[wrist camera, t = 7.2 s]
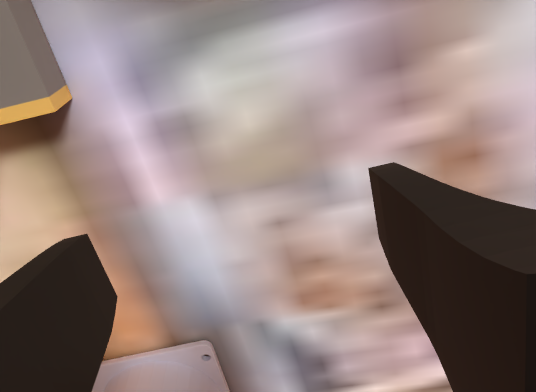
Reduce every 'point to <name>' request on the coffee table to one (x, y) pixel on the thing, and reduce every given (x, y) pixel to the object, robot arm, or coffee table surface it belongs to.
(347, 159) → the coffee table surface
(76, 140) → the coffee table surface
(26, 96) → the dock
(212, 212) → the coffee table surface
